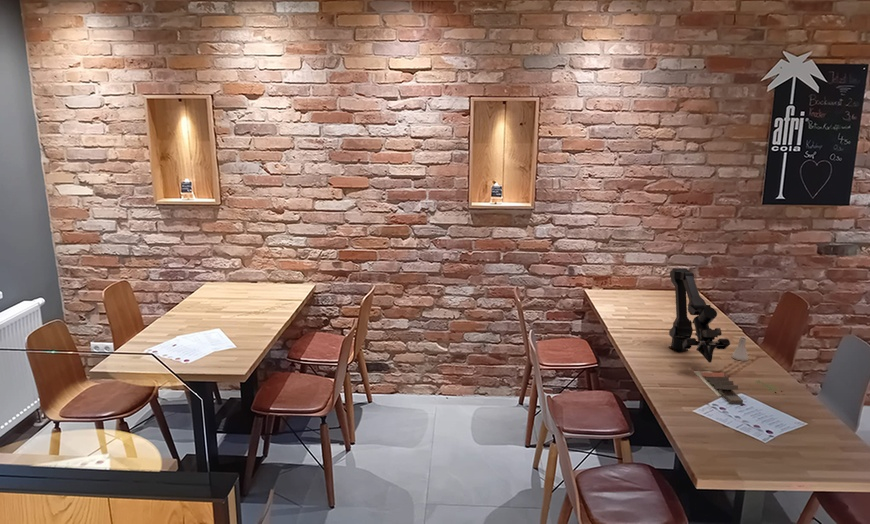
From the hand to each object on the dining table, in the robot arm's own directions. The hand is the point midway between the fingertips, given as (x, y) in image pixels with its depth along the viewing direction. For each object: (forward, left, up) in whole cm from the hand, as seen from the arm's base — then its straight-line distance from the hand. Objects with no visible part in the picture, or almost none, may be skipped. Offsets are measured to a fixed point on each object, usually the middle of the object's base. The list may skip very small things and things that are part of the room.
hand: (710, 362), depth 278 cm
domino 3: (+7, -2, -6) cm, 9 cm away
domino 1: (-1, 0, -6) cm, 6 cm away
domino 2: (+3, -1, -6) cm, 7 cm away
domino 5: (+14, -5, -6) cm, 16 cm away
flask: (-13, +31, -8) cm, 35 cm away
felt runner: (+6, -2, -7) cm, 10 cm away
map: (+19, +15, -8) cm, 26 cm away
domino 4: (+10, -4, -6) cm, 13 cm away
